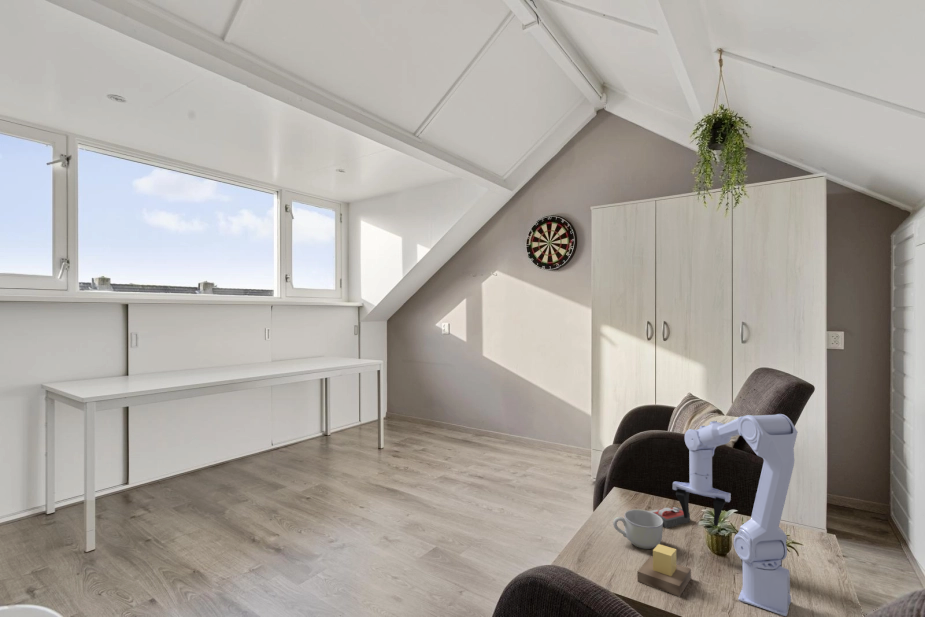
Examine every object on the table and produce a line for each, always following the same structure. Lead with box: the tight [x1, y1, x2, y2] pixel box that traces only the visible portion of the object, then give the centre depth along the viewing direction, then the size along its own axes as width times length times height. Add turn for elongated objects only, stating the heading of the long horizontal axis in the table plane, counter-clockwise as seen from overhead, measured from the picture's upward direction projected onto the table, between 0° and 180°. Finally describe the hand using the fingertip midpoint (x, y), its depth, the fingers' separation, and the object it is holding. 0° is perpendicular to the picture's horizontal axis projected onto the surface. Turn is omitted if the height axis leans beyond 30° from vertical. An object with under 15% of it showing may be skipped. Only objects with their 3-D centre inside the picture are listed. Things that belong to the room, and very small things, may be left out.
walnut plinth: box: [636, 555, 692, 597], centre depth 119 cm, size 10×10×2 cm
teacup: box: [612, 508, 664, 550], centre depth 138 cm, size 14×11×8 cm
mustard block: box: [652, 543, 677, 576], centre depth 119 cm, size 4×4×5 cm
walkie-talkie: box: [648, 506, 691, 529], centre depth 153 cm, size 9×4×20 cm
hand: (701, 520), depth 132 cm, fingers open, 7 cm apart
